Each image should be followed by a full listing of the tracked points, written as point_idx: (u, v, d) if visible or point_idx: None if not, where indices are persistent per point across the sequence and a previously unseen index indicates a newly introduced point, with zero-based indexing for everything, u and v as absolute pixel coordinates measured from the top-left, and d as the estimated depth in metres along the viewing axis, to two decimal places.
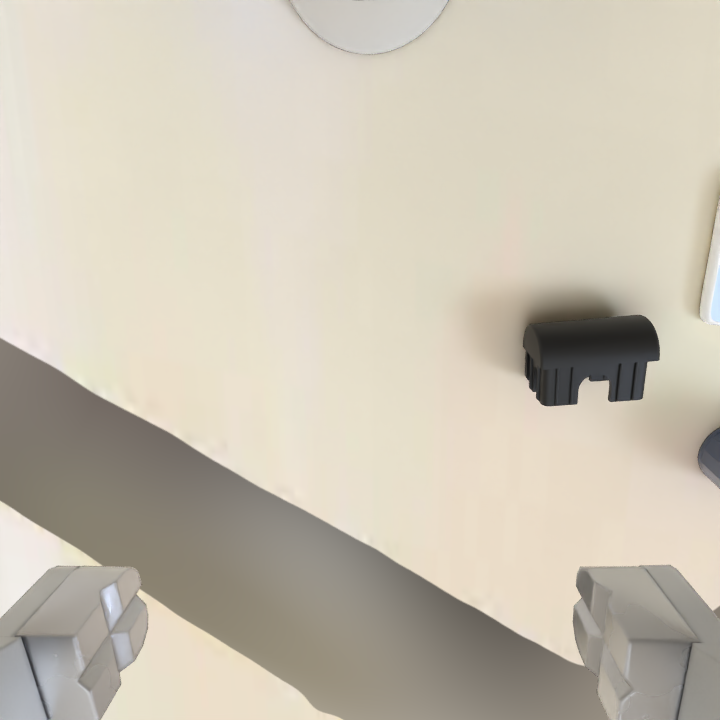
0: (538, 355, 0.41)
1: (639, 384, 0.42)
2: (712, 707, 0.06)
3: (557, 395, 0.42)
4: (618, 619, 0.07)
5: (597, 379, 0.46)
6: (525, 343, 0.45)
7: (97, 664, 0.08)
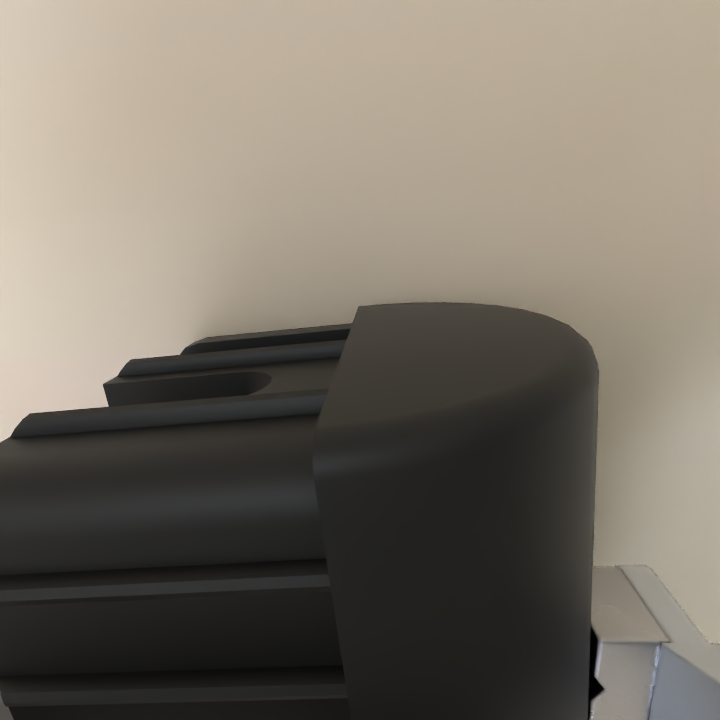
0: (437, 393, 0.04)
1: None
2: (681, 706, 0.06)
3: (51, 597, 0.05)
4: None
5: None
6: (391, 310, 0.08)
7: None
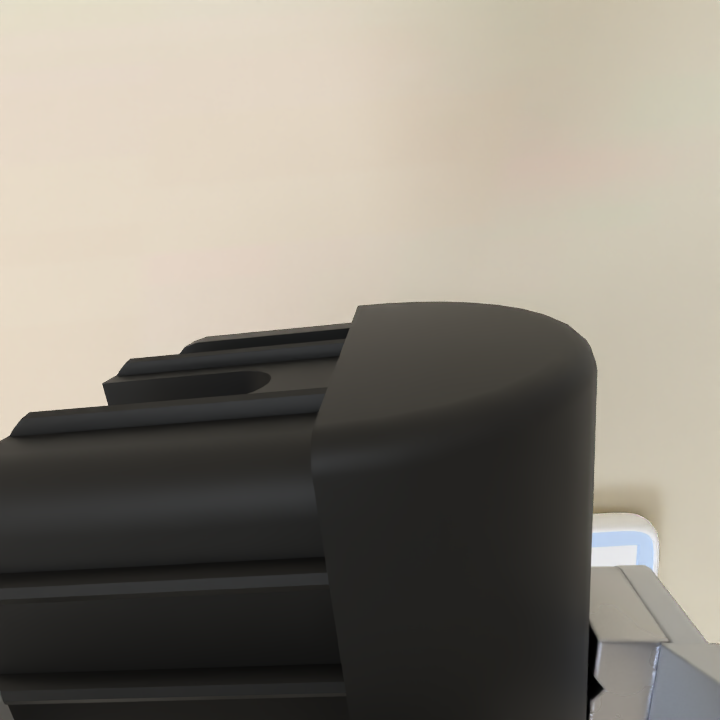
0: (436, 392, 0.04)
1: None
2: (680, 707, 0.06)
3: (51, 596, 0.05)
4: (589, 619, 0.07)
5: None
6: (390, 310, 0.08)
7: None
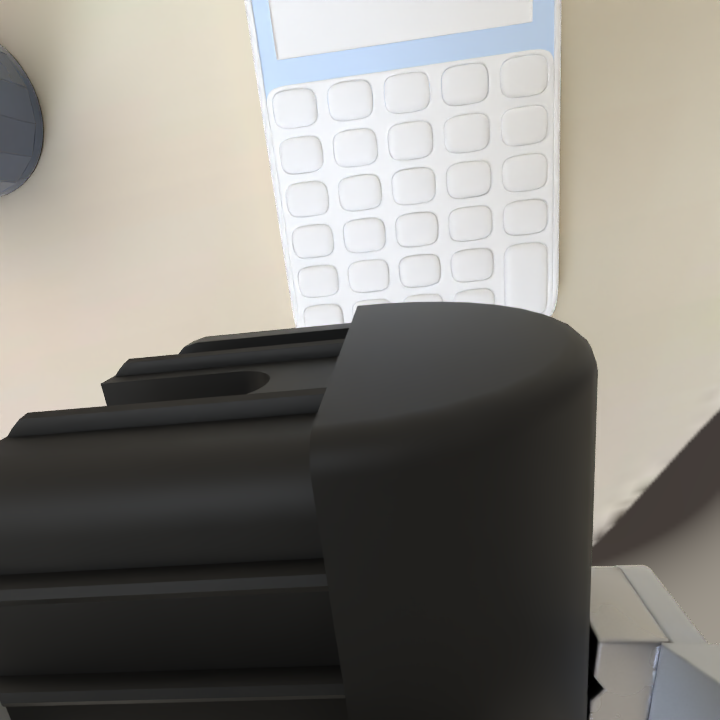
0: (435, 393, 0.04)
1: None
2: (680, 707, 0.06)
3: (48, 597, 0.05)
4: (590, 619, 0.07)
5: None
6: (389, 310, 0.08)
7: None
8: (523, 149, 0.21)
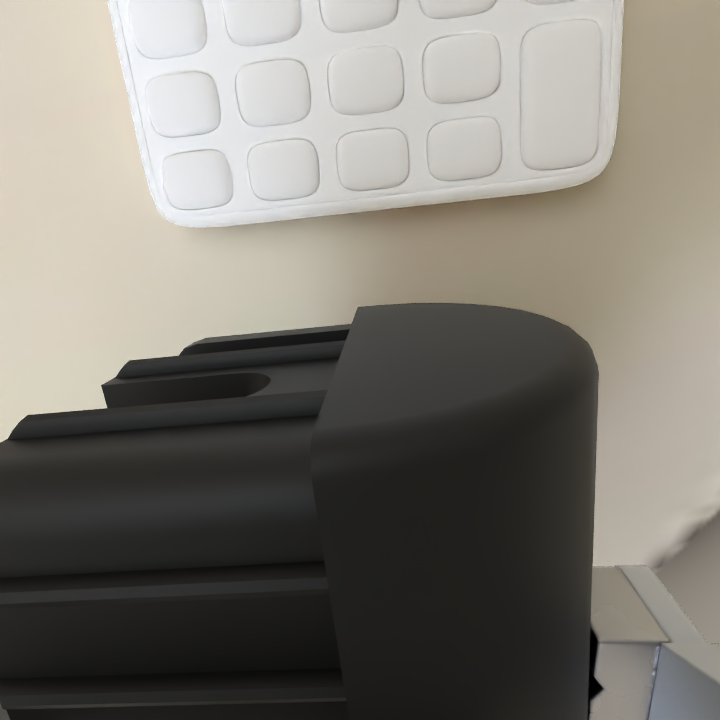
0: (435, 395, 0.04)
1: None
2: (680, 707, 0.06)
3: (49, 600, 0.05)
4: None
5: None
6: (390, 311, 0.08)
7: None
8: None
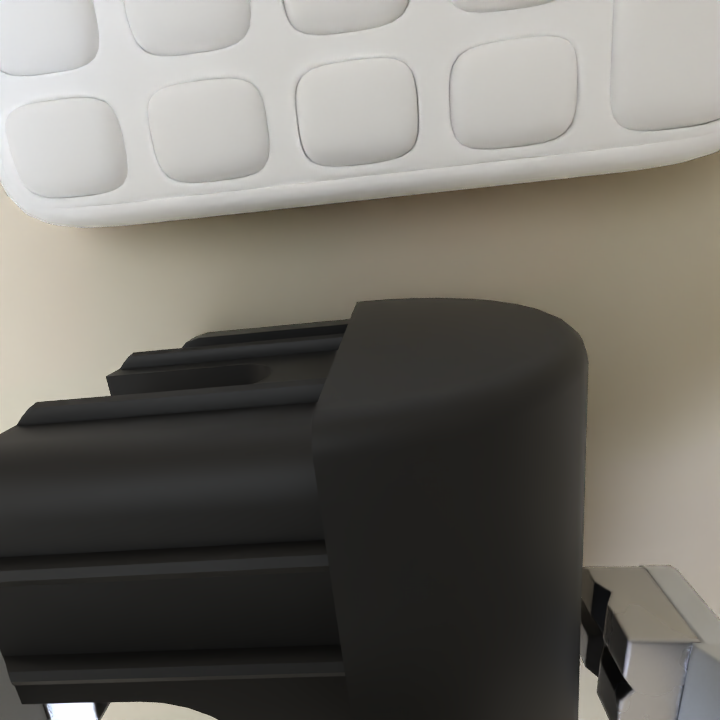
0: (431, 380, 0.04)
1: None
2: (712, 707, 0.06)
3: (58, 578, 0.05)
4: (618, 619, 0.07)
5: None
6: (388, 306, 0.08)
7: None
8: None
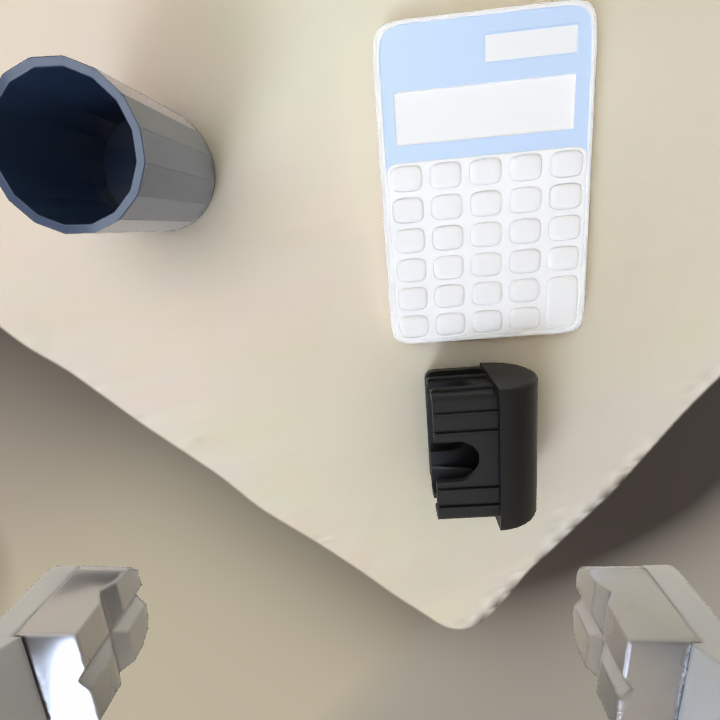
0: (513, 384, 0.29)
1: (461, 513, 0.31)
2: (712, 707, 0.06)
3: (450, 416, 0.29)
4: (618, 619, 0.07)
5: (432, 459, 0.35)
6: (491, 365, 0.33)
7: (97, 664, 0.08)
8: (564, 212, 0.30)
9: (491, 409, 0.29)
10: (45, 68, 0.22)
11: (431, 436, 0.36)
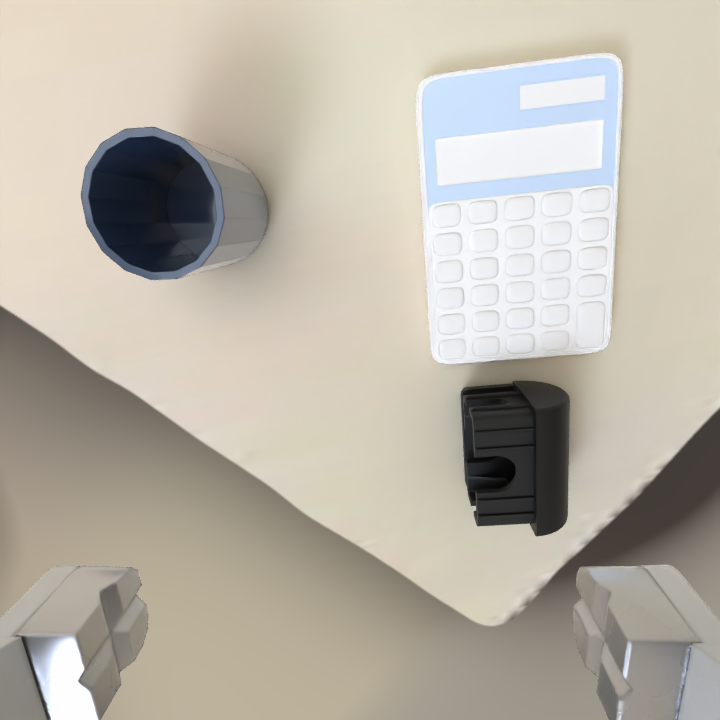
0: (547, 404, 0.32)
1: (499, 520, 0.34)
2: (712, 707, 0.06)
3: (490, 433, 0.32)
4: (618, 619, 0.07)
5: (469, 470, 0.38)
6: (524, 384, 0.36)
7: (97, 664, 0.08)
8: (592, 244, 0.33)
9: (527, 426, 0.32)
10: (138, 137, 0.25)
11: (467, 448, 0.39)
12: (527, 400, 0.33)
